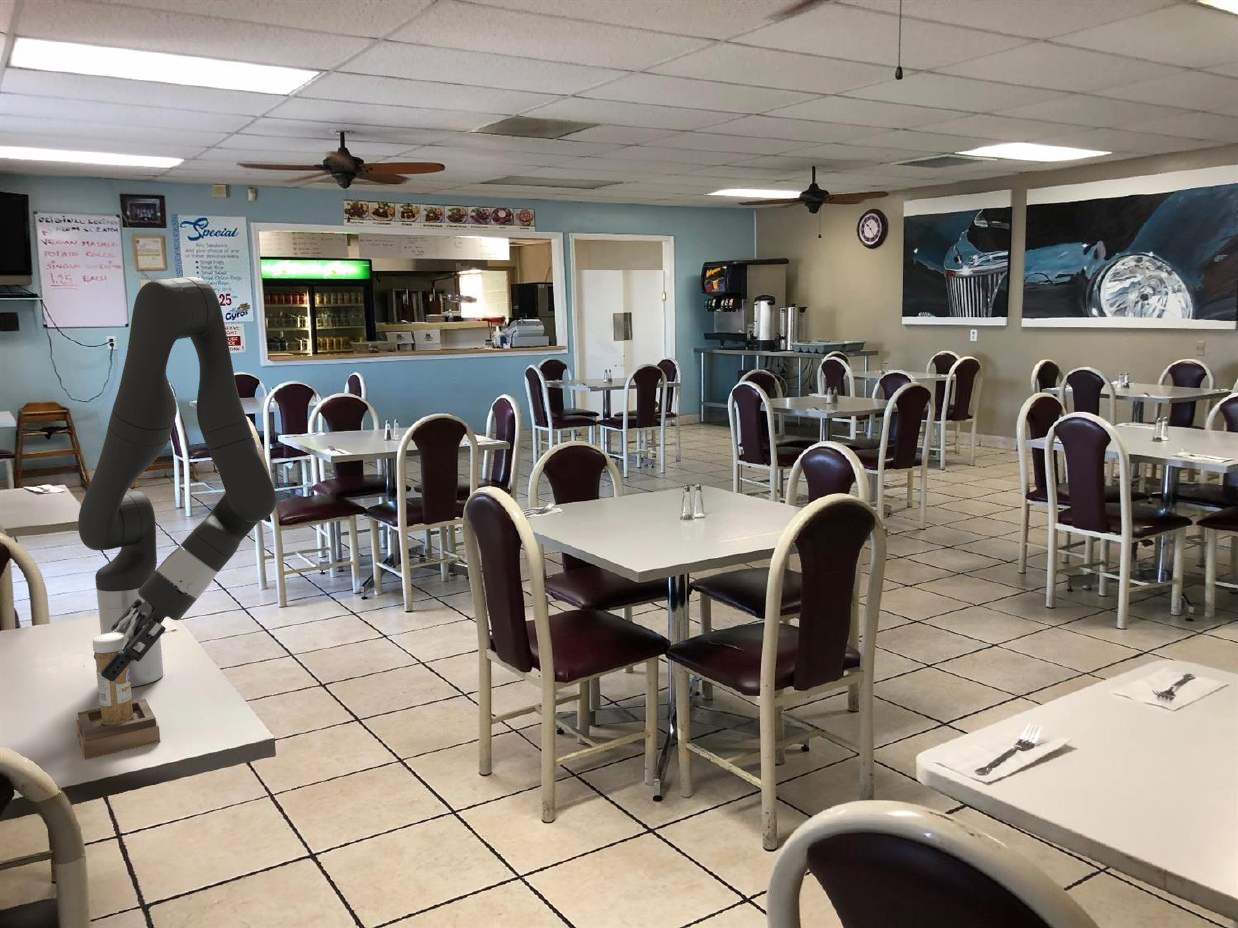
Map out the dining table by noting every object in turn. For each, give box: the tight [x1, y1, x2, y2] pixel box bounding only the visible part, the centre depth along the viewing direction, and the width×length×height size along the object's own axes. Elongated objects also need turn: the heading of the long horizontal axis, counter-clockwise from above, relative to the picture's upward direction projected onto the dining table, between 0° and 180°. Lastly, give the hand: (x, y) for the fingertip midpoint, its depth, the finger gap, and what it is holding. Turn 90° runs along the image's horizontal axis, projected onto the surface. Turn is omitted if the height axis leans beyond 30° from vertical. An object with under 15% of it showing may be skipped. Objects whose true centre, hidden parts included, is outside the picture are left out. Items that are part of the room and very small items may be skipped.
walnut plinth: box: [75, 698, 161, 760], centre depth 148 cm, size 10×10×4 cm
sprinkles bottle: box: [92, 632, 134, 726], centre depth 147 cm, size 5×5×14 cm
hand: (102, 669), depth 146 cm, fingers open, 8 cm apart
